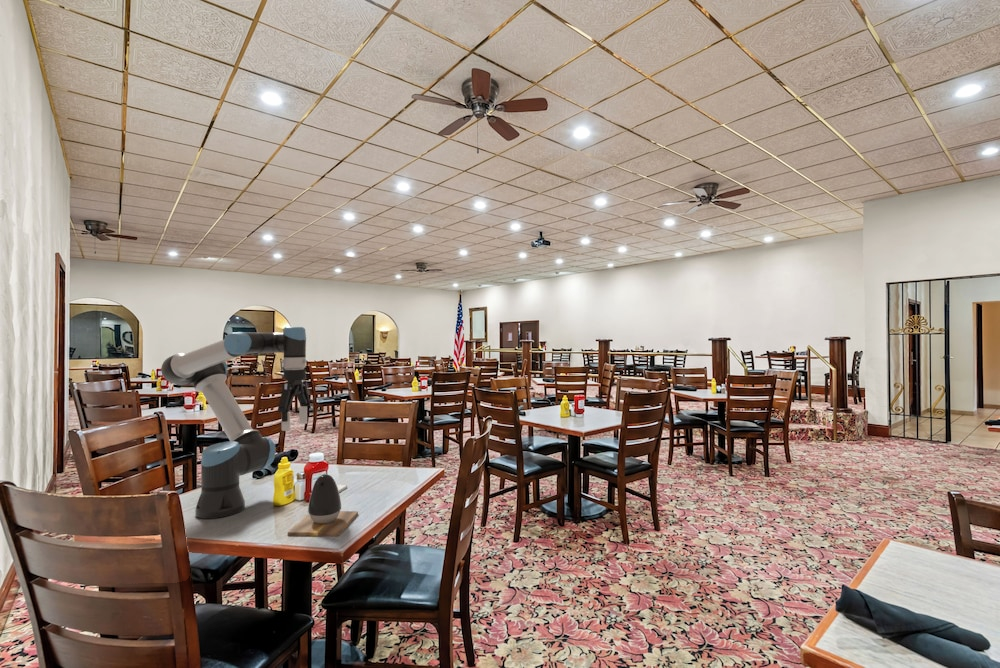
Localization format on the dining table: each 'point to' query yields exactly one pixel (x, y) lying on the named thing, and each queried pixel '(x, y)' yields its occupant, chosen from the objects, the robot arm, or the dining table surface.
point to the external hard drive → (341, 487)
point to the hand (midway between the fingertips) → (294, 427)
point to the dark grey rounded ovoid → (324, 500)
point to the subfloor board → (323, 525)
